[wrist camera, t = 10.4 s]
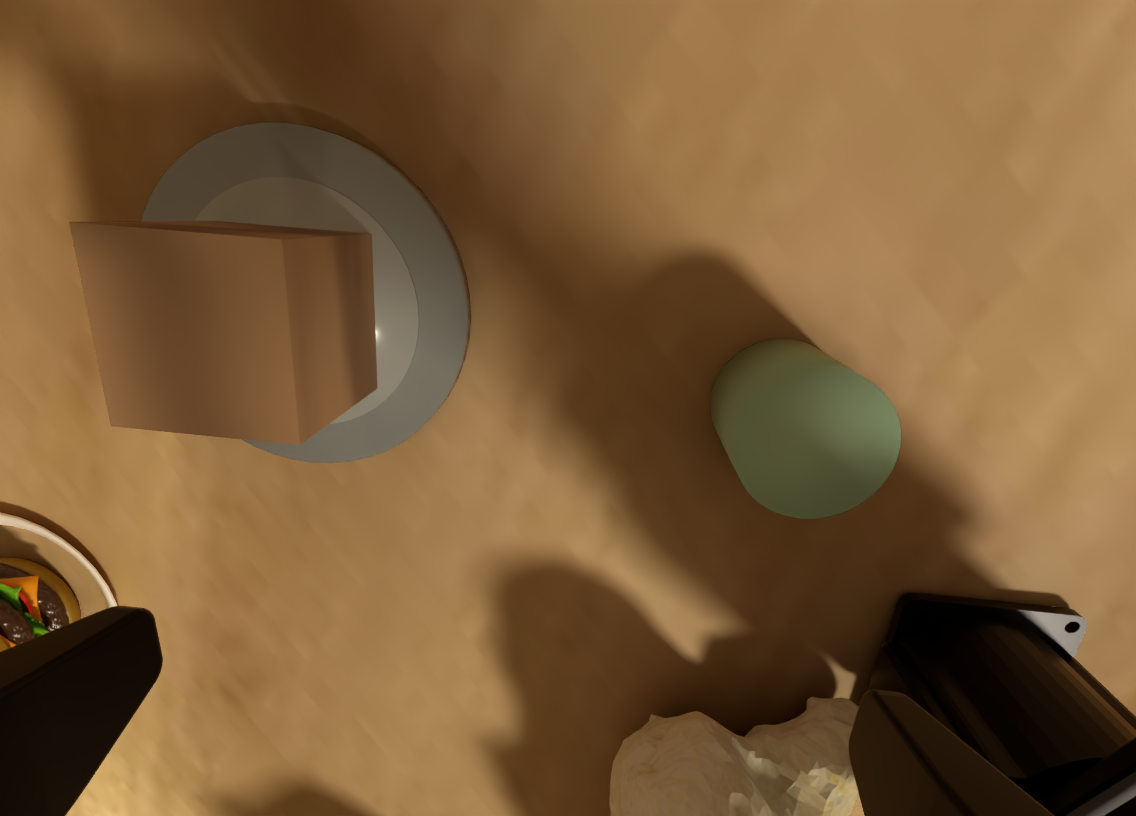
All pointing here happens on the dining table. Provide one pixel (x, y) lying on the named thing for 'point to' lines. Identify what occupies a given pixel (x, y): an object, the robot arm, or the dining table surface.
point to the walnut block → (229, 325)
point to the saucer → (400, 262)
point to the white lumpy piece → (738, 766)
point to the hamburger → (38, 592)
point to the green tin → (803, 429)
